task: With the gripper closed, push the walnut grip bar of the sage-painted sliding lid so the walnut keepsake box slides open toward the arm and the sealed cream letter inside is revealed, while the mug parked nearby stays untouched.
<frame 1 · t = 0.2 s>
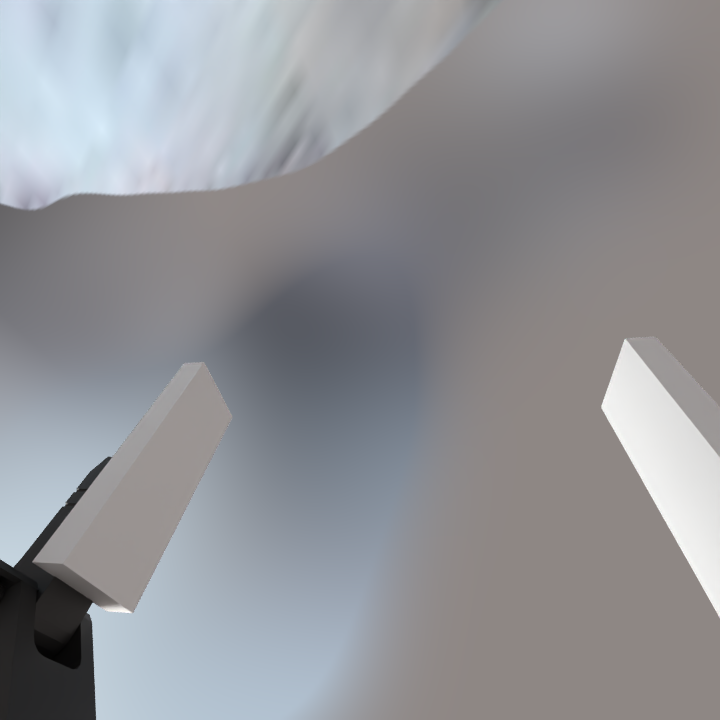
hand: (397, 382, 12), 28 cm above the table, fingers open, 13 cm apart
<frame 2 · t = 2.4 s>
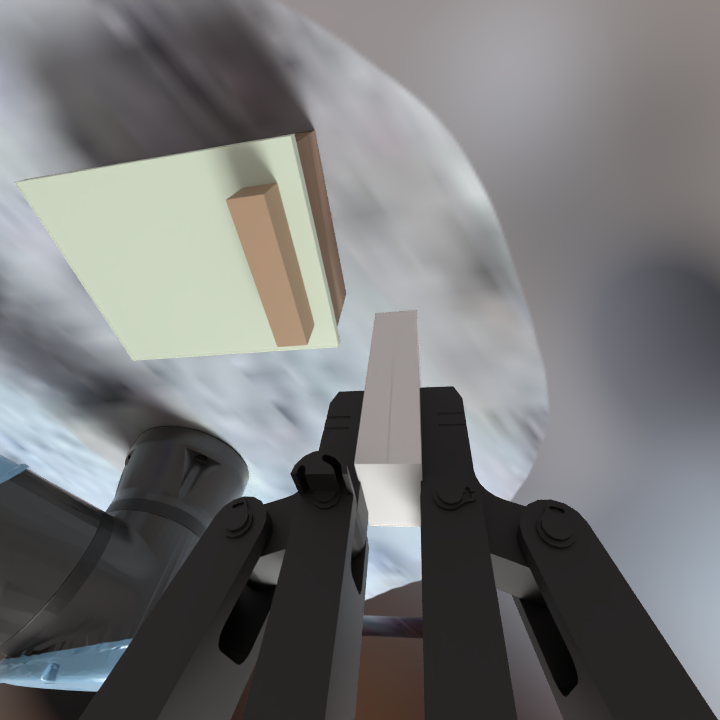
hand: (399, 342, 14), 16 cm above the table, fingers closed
lid: (188, 278, 23), point 8 cm above the table, slide at 0.0 cm
box: (234, 234, 29), on the table
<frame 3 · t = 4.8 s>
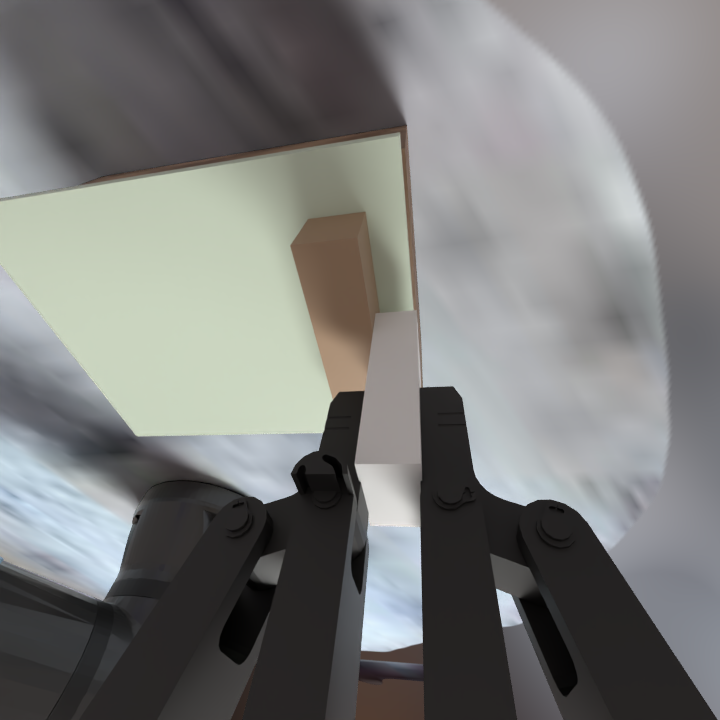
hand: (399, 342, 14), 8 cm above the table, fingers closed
lid: (216, 347, 16), point 8 cm above the table, slide at 0.4 cm, touching gripper
box: (278, 267, 22), on the table
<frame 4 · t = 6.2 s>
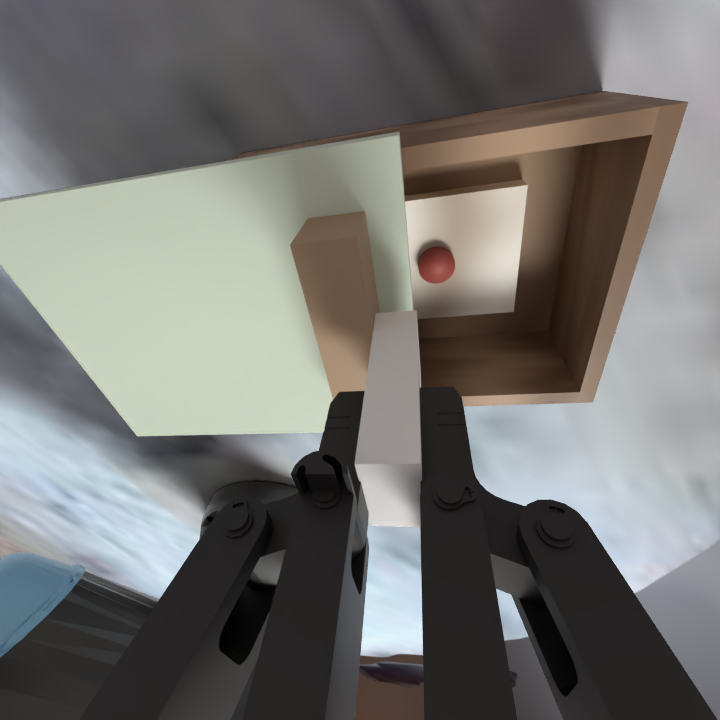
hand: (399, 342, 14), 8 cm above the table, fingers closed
lid: (216, 346, 16), point 8 cm above the table, slide at 8.5 cm, touching gripper
box: (415, 252, 20), on the table
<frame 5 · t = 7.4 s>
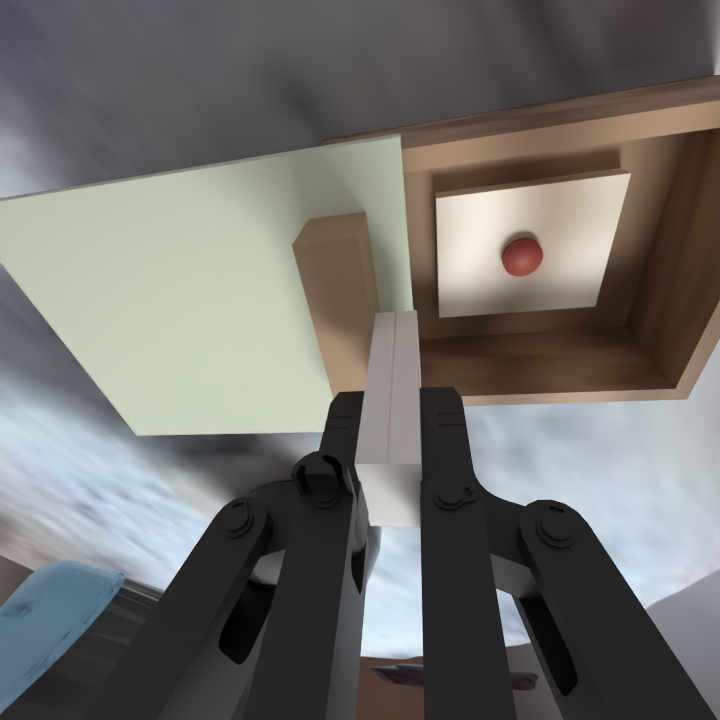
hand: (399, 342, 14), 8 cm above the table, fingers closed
lid: (217, 346, 16), point 8 cm above the table, slide at 12.6 cm, touching gripper
box: (493, 244, 20), on the table
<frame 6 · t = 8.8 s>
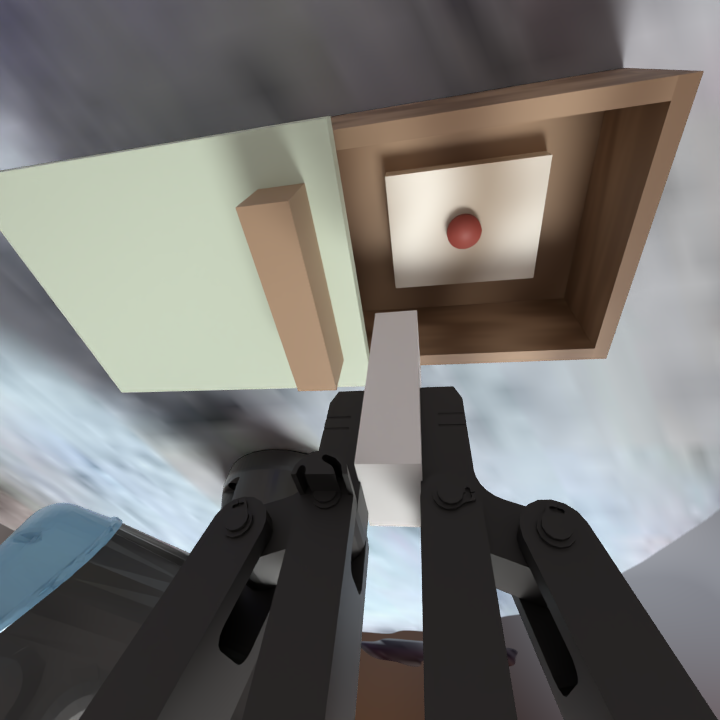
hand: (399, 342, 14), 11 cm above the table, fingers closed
lid: (186, 304, 18), point 8 cm above the table, slide at 12.7 cm
box: (443, 221, 22), on the table
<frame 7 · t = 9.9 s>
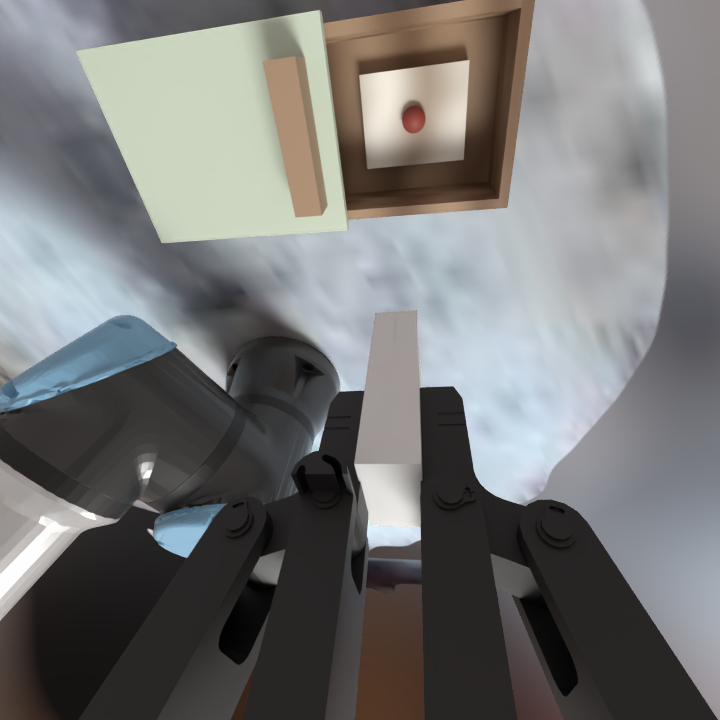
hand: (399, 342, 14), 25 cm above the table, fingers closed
lid: (220, 151, 26), point 8 cm above the table, slide at 12.7 cm
box: (401, 118, 30), on the table
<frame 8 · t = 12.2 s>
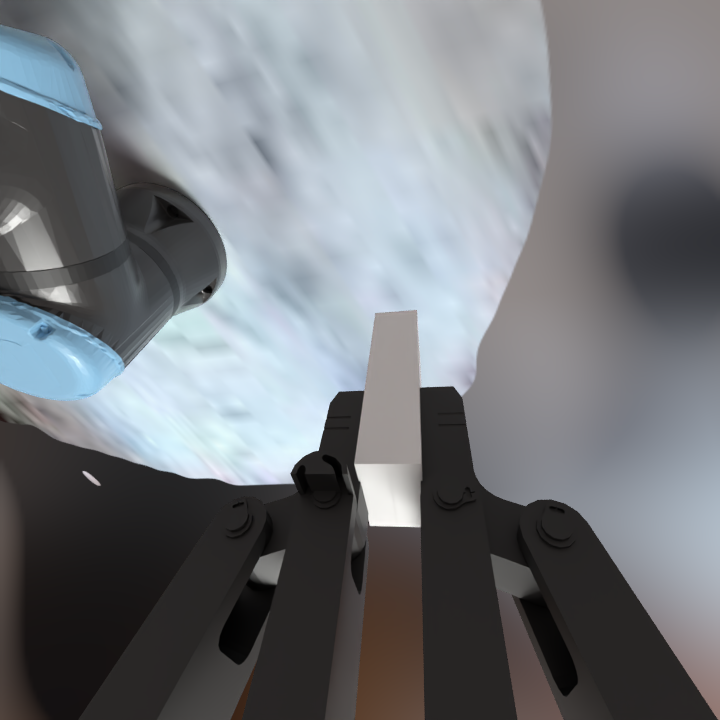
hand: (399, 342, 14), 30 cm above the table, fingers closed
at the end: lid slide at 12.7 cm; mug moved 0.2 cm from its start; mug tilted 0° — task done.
